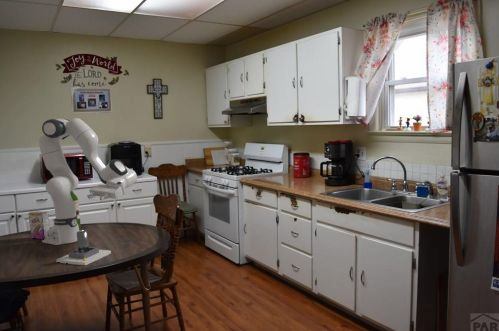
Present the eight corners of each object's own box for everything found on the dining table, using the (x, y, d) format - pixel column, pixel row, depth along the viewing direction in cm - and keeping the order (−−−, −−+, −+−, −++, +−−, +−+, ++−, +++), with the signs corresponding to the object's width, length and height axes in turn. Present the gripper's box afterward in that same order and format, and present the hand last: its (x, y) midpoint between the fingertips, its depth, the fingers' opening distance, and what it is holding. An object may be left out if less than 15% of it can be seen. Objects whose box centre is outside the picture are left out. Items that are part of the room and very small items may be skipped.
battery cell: (76, 256, 200) (74, 231, 198) (83, 252, 204) (81, 228, 203) (84, 256, 198) (82, 232, 196) (91, 253, 203) (89, 229, 201)
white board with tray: (56, 262, 196) (55, 254, 196) (83, 250, 213) (83, 243, 212) (85, 265, 190) (84, 257, 189) (110, 253, 206) (110, 245, 206)
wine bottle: (75, 231, 257) (70, 181, 253) (63, 230, 258) (58, 181, 255) (83, 227, 265) (79, 179, 262) (71, 227, 267) (67, 179, 264)
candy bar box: (30, 239, 242) (27, 212, 241) (37, 236, 247) (34, 210, 245) (44, 240, 239) (41, 213, 237) (51, 237, 243) (48, 211, 242)
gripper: (99, 180, 227) (80, 191, 216) (125, 183, 217) (106, 194, 206) (102, 190, 230) (83, 201, 219) (128, 193, 220) (109, 205, 209)
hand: (94, 198), depth 212 cm, fingers open, 8 cm apart
